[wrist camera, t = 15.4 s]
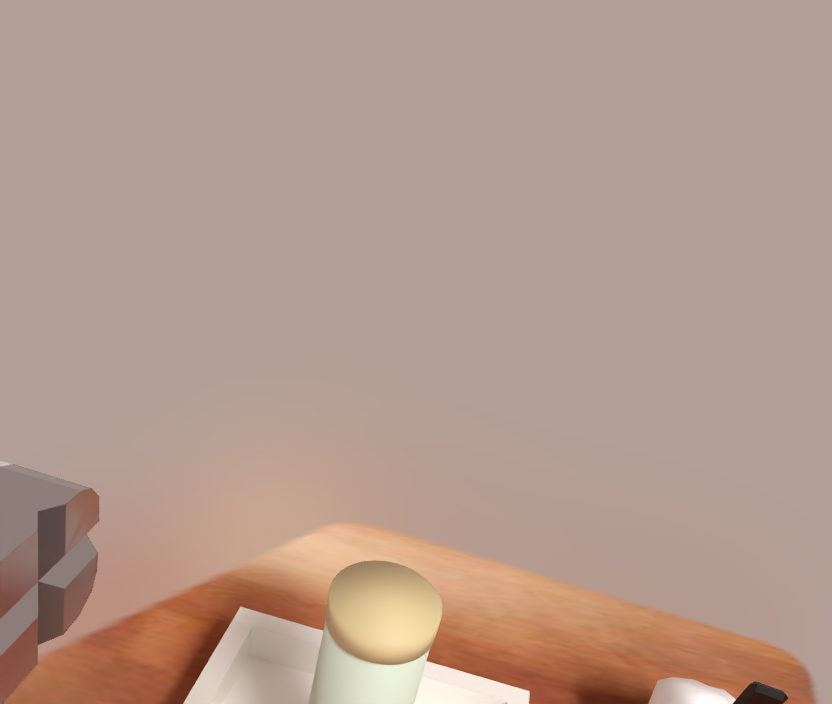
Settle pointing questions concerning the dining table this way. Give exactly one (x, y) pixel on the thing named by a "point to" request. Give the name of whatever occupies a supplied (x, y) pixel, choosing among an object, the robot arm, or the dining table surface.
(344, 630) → the tea tin
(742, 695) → the cocoa
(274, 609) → the dining table surface
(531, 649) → the dining table surface
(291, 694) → the dish
